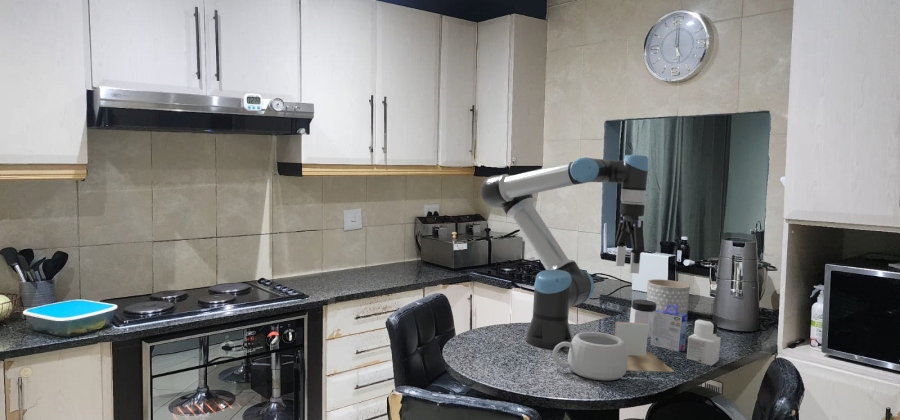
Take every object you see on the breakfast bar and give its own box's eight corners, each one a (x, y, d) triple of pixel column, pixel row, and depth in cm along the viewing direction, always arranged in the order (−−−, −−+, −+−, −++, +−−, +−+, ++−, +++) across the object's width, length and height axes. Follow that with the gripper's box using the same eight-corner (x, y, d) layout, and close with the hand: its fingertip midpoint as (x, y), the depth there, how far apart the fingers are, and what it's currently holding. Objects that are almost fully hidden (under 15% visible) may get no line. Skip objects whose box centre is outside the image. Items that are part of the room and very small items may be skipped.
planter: (689, 320, 243) (692, 289, 242) (646, 315, 247) (649, 284, 246) (684, 311, 259) (687, 282, 258) (644, 306, 263) (646, 277, 262)
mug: (616, 363, 183) (619, 331, 182) (635, 384, 166) (637, 348, 165) (545, 360, 182) (548, 328, 181) (557, 381, 165) (559, 345, 164)
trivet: (621, 372, 176) (621, 370, 176) (601, 352, 194) (601, 350, 194) (674, 373, 177) (674, 371, 177) (649, 353, 195) (650, 352, 195)
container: (693, 355, 197) (697, 315, 196) (718, 361, 192) (722, 320, 191) (685, 360, 191) (689, 319, 190) (711, 366, 186) (715, 325, 185)
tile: (614, 354, 190) (617, 323, 189) (612, 352, 192) (615, 321, 191) (645, 355, 191) (648, 324, 190) (643, 353, 192) (646, 323, 192)
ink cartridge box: (685, 350, 201) (689, 307, 200) (679, 353, 197) (683, 309, 196) (656, 343, 208) (660, 301, 207) (649, 346, 204) (653, 303, 202)
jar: (642, 339, 211) (645, 305, 210) (624, 333, 218) (627, 300, 217) (659, 336, 216) (662, 303, 215) (640, 330, 223) (643, 298, 222)
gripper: (659, 206, 184) (653, 277, 186) (629, 200, 208) (624, 263, 209) (635, 205, 183) (629, 276, 185) (608, 199, 207) (603, 262, 209)
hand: (626, 269), depth 197 cm, fingers open, 12 cm apart
